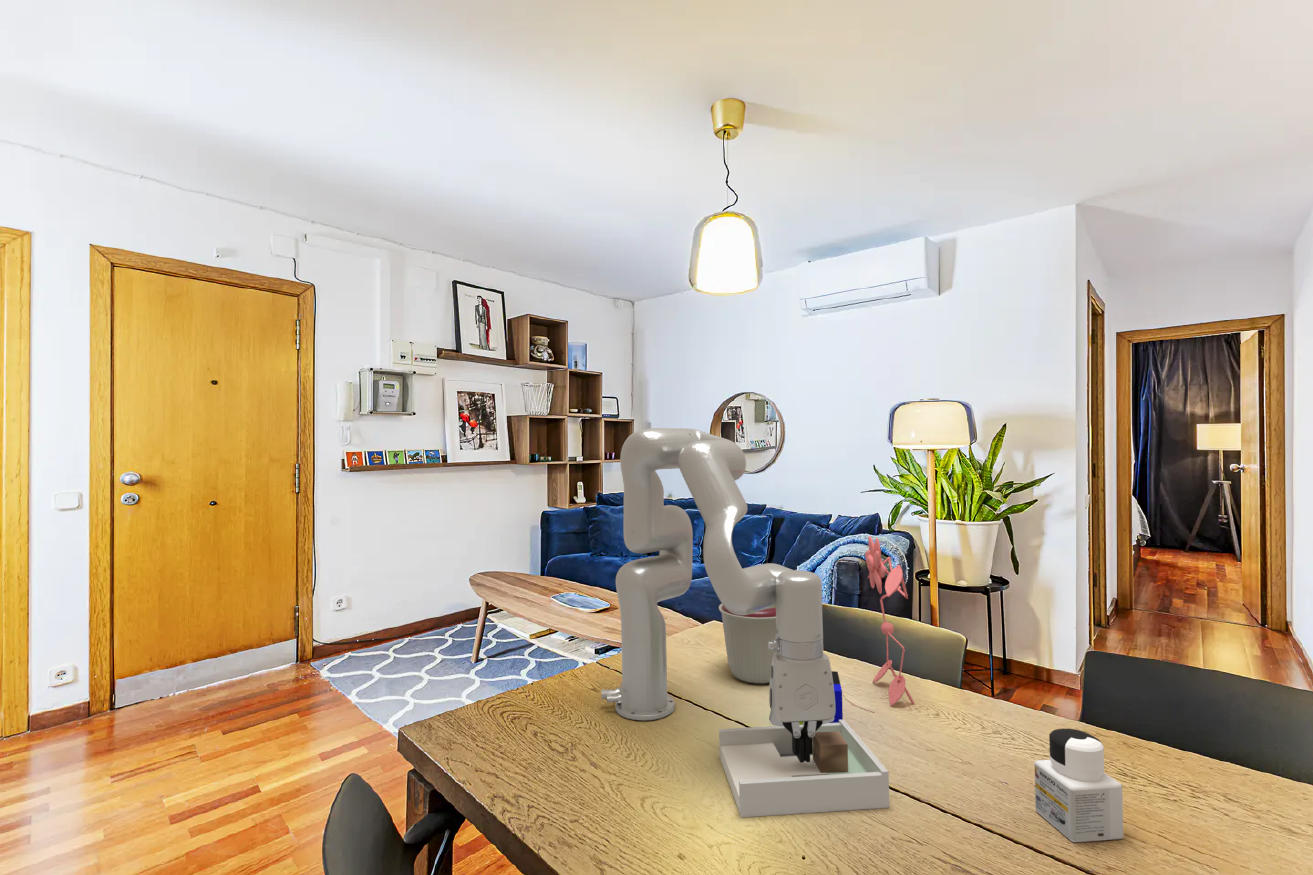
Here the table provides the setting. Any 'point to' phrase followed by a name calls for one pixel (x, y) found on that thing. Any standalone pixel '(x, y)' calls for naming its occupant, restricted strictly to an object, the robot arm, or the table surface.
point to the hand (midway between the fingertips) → (802, 757)
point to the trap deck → (798, 774)
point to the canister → (750, 643)
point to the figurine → (887, 628)
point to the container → (1078, 789)
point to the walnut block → (830, 752)
